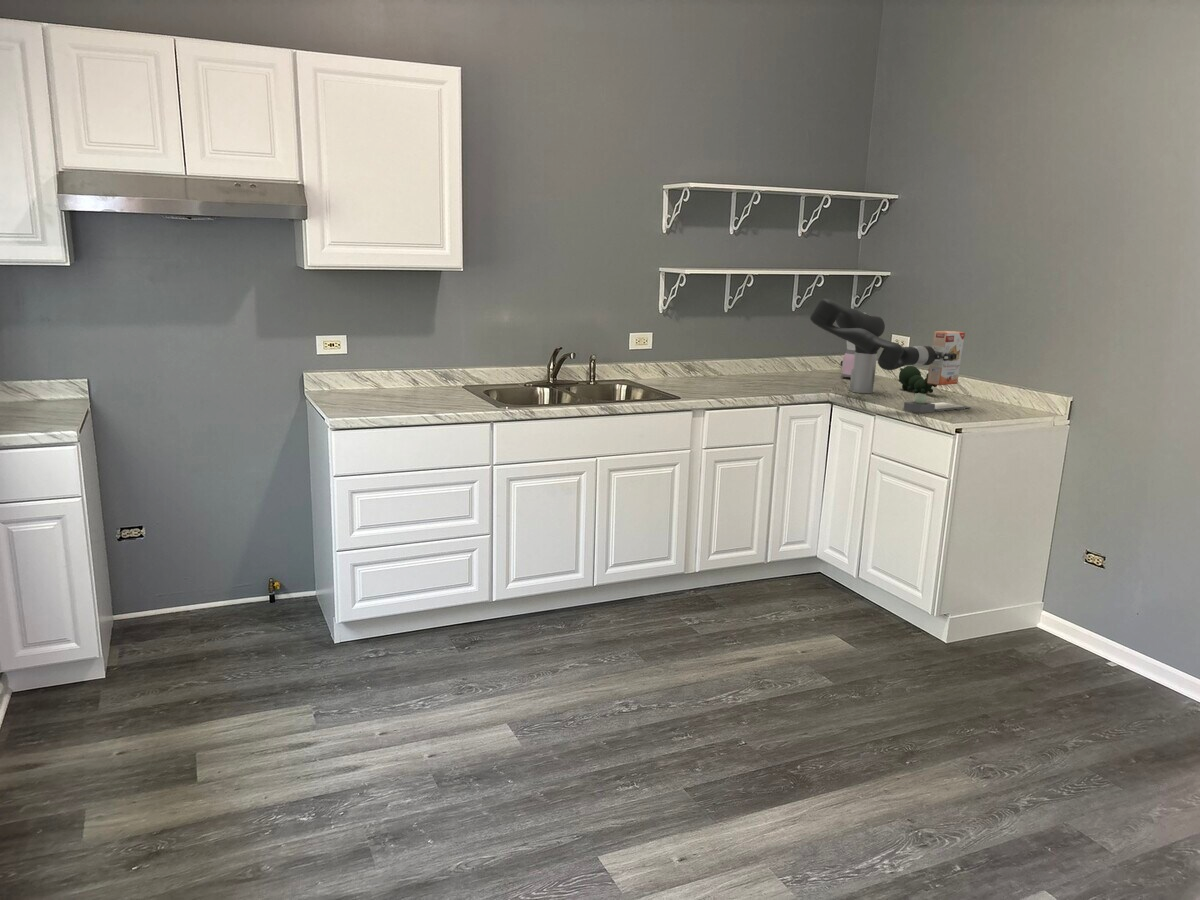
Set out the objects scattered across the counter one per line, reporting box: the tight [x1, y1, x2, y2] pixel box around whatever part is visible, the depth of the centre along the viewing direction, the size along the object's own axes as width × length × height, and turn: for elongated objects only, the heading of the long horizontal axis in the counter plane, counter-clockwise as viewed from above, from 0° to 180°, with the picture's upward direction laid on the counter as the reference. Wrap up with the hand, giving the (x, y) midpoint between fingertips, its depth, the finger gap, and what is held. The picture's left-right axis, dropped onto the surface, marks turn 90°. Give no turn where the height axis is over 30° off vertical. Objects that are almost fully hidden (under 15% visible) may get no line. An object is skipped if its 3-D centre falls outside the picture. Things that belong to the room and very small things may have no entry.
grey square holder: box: [903, 400, 935, 414], centre depth 336 cm, size 8×8×3 cm
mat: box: [929, 401, 971, 412], centre depth 347 cm, size 14×20×1 cm
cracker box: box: [927, 330, 966, 386], centre depth 343 cm, size 14×6×21 cm, turn 129°
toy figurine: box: [898, 365, 938, 394], centre depth 384 cm, size 9×19×25 cm
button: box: [913, 392, 927, 405], centre depth 335 cm, size 4×4×4 cm
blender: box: [839, 312, 867, 379], centre depth 421 cm, size 16×12×32 cm
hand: (948, 355), depth 343 cm, fingers closed on cracker box, 6 cm apart
